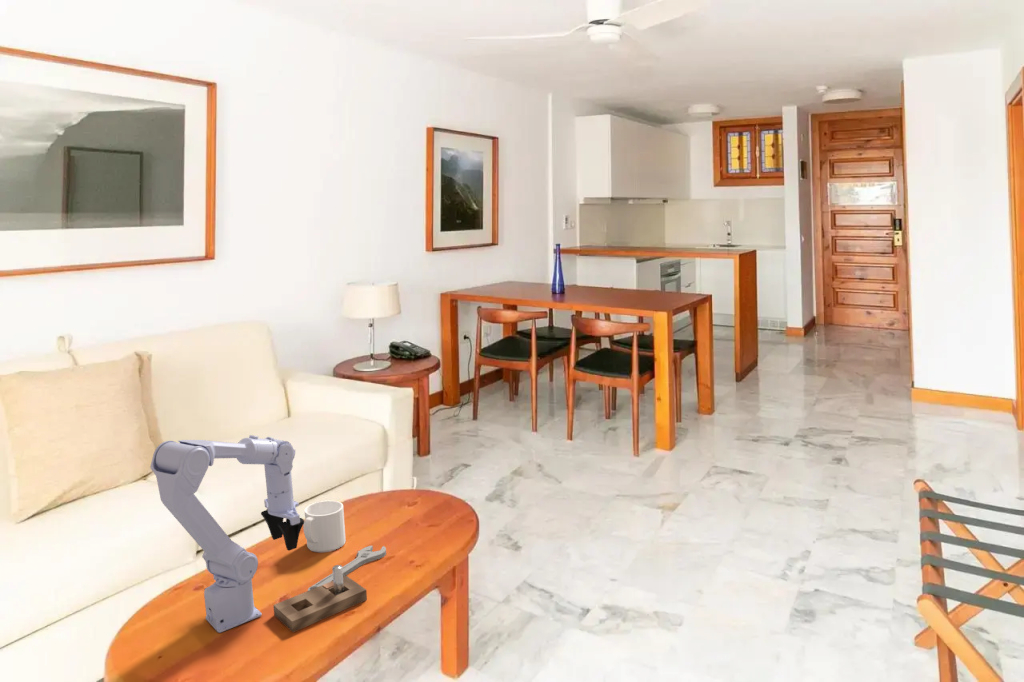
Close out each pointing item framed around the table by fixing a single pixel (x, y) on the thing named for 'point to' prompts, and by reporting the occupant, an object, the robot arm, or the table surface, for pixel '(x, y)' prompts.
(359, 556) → the adjustable wrench
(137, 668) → the table surface
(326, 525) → the mug
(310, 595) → the dock board
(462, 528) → the table surface
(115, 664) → the table surface
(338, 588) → the steel pin
